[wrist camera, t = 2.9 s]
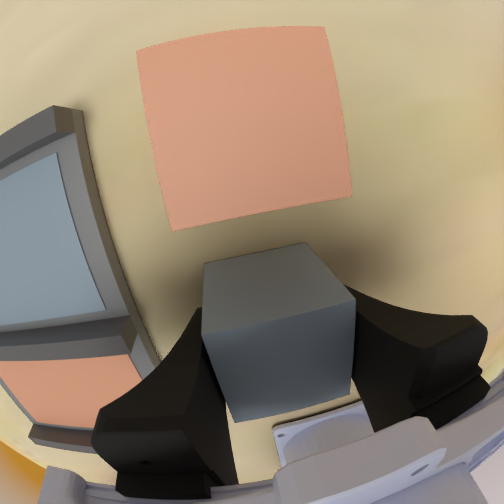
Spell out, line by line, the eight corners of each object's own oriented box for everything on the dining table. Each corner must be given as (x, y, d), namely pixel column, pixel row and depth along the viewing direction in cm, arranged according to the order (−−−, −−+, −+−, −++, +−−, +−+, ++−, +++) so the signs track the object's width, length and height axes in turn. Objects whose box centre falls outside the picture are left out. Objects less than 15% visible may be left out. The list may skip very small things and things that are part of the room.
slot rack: (194, 424, 16) (194, 454, 14) (43, 422, 15) (35, 444, 13) (82, 110, 9) (53, 105, 7) (-69, 205, 8) (-92, 216, 6)
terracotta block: (297, 174, 11) (351, 196, 7) (188, 195, 11) (171, 231, 7) (279, 70, 10) (324, 26, 5) (167, 89, 9) (136, 50, 5)
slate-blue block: (312, 323, 14) (349, 394, 10) (226, 343, 14) (234, 422, 9) (305, 242, 12) (356, 299, 8) (204, 263, 12) (201, 334, 8)
